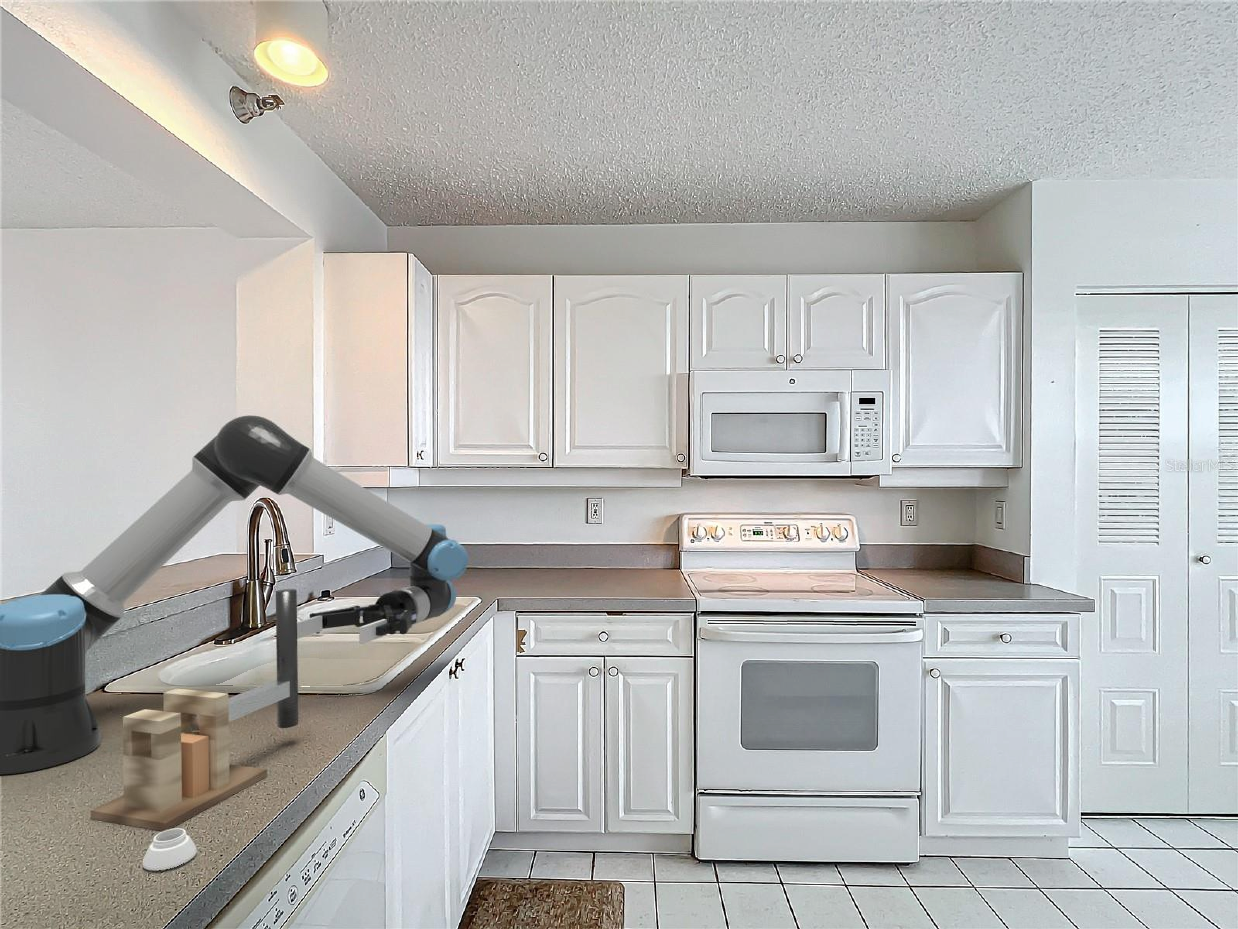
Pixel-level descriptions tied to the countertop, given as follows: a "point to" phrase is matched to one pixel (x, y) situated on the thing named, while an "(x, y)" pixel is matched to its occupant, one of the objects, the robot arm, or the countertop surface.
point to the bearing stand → (174, 762)
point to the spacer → (194, 764)
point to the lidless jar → (169, 850)
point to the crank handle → (287, 671)
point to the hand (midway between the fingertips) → (326, 633)
